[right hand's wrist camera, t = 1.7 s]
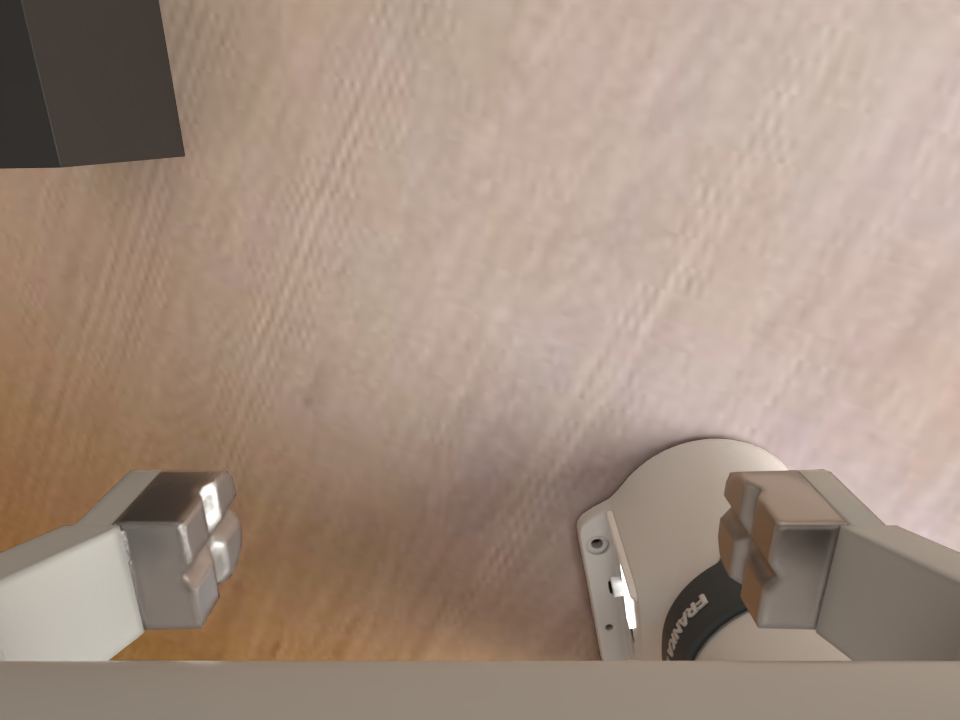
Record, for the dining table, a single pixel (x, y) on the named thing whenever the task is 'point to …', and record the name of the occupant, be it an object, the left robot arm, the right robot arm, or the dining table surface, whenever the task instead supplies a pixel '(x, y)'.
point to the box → (84, 84)
